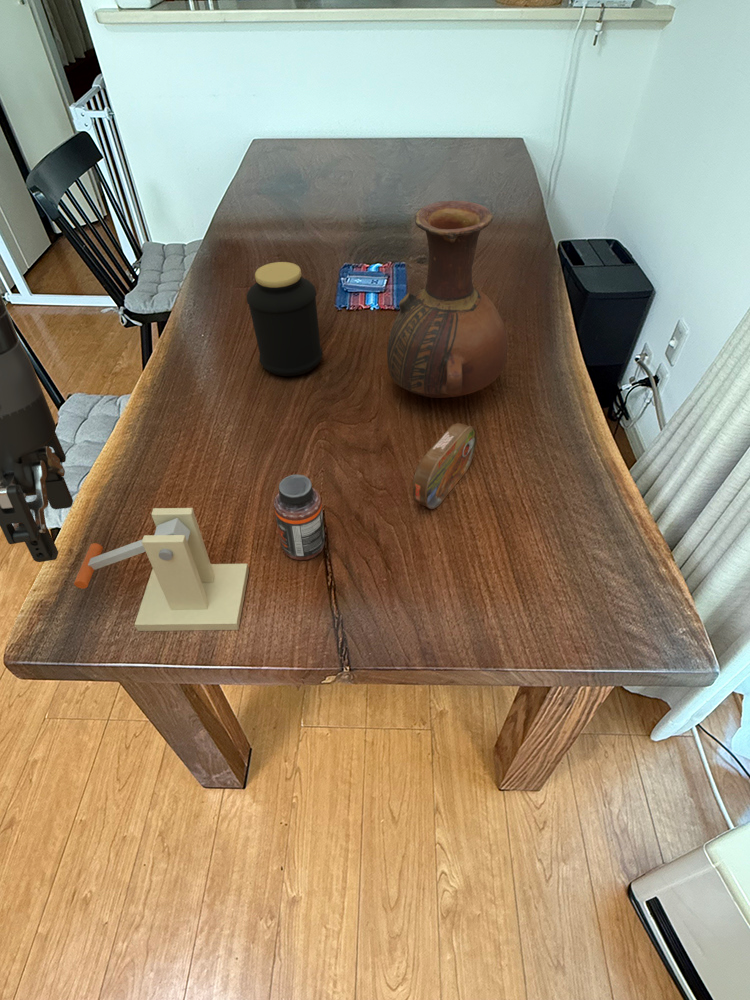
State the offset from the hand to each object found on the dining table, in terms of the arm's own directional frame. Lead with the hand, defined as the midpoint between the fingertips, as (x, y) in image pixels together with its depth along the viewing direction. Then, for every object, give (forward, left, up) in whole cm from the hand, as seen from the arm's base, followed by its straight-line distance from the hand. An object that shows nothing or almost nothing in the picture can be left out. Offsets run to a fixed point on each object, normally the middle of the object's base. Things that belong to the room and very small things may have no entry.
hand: (55, 531), depth 63 cm
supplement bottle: (+18, -19, -14) cm, 30 cm away
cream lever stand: (+5, -10, -14) cm, 18 cm away
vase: (+59, -26, -14) cm, 66 cm away
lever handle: (+4, -6, -6) cm, 9 cm away
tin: (+36, -33, -14) cm, 51 cm away
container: (+57, +3, -14) cm, 59 cm away
